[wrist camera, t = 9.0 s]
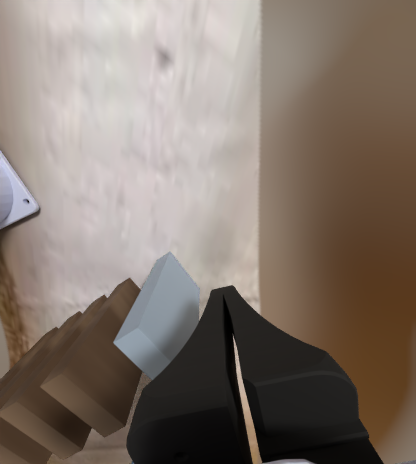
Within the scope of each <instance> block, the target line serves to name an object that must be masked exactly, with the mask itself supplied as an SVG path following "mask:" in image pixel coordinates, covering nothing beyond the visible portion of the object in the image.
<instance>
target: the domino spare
mask: <svg viewBox="0 0 416 464" xmlns="http://www.w3.org/2000/svg"><path fill="white" fill-rule="evenodd" d="M199 294H200V288H199V287H198V286H197V285H196V283H195V282H194V281H193V279H192V278H191V277H190V276H189V274H188V273H187V272H186V271H185V269H184V268H183V267H182V266H181V264H180V263H179V262H178V260H177V259H176V258H175V257H174V255H173V254H172V253H171V252H169V253H167V254H166V255H164V256H163V257H161V258H160V259H158V260H157V262H156V263H155V265H154V267H153V269H152V271H151V273H150V275H149V277H148V278H147V280H146V282H145V284H144V286H143V288H142V290H141V291H140V293H139V295H138V297H137V299H136V301H135V303H134V305H133V306H132V308H131V310H130V312H129V314H128V316H127V318H126V320H125V321H124V323H123V325H122V327H121V329H120V331H119V333H118V334H117V336H116V338H115V340H114V342H113V343H114V344H115V345H116V346H117V347H118V348H119V349H120V350H121V351H122V352H123V353H124V354H125V355H126V356H127V357H128V358H129V359H130V360H131V361H132V362H133V363H134V364H135V365H137V366H138V367H139V368H140V369H141V370H142V371H143V372H144V373H145V374H146V375H147V376H148V377H149V378H150V379H151V380H153V379H154V378H155V377H156V376H158V375H159V374H160V373H161V372H162V371H163V370H164V369H165V368H166V367H167V365H168V364H169V363H170V362H171V361H172V360H173V359H174V358H175V357H176V355H177V354H178V353H179V352H180V350H181V349H182V348H183V347H184V345H185V344H186V342H187V341H188V340H189V338H190V336H191V335H192V333H193V332H194V330H195V328H196V326H197V325H198V323H199Z"/></svg>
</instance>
